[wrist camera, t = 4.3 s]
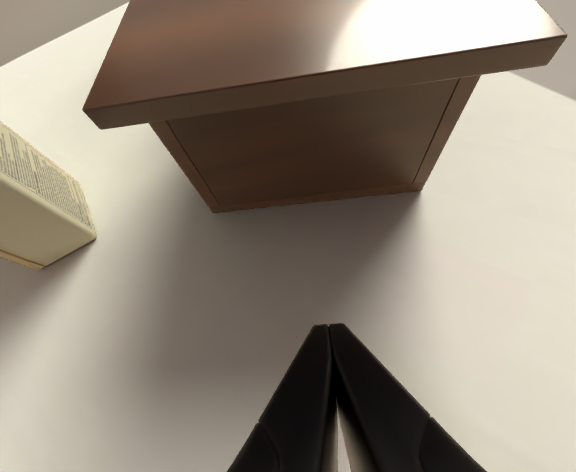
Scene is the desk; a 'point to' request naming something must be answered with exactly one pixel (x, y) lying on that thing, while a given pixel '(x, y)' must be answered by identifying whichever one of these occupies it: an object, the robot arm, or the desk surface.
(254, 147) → the bin
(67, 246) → the cosmetic box
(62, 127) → the desk surface
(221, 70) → the lid
